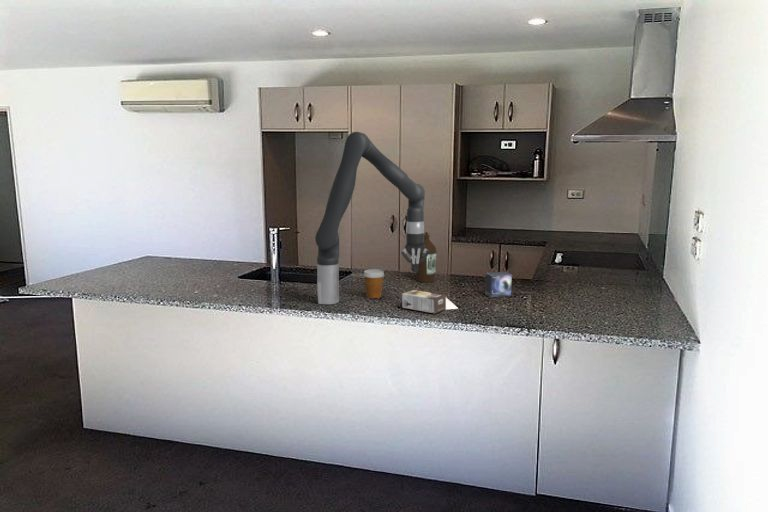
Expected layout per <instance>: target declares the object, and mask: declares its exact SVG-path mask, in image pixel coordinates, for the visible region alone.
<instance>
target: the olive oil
mask: <svg viewBox="0 0 768 512" xmlns="http://www.w3.org/2000/svg"><path fill="white" fill-rule="evenodd" d="M424 245H425V248H426V249H427V250H429V251H430V253H429V254H428V255H427V257H426V258H425V259H424V261H423V262H420V263H419V264H418V271H417V272H416V273H415V274H416V275H415V279H416V282H418V283H424V284H425V283H426V284H427V283H428V284H429V283H434V282H435V281H436V272H437V269H436V264H437V262H436V261H437V248H436V245H435V244H434V243H433V242H432V241H431V240H430V232H429V231H424ZM423 254H424V253H423V252H422V253H421V255H420V257H421V256H422V255H423ZM419 259H420V258H419Z"/></svg>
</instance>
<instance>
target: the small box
mask: <svg viewBox="0 0 768 512" xmlns="http://www.w3.org/2000/svg"><path fill="white" fill-rule="evenodd" d="M512 279H513V274H511V273H510V272H508V271H497V272H496V271H494V272H485V284H484V295H485V296H486V297H488V298H491V299H493V297H496V298H507V297H506V296H511V297H512V284H513V283H512V281H513V280H512Z"/></svg>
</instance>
